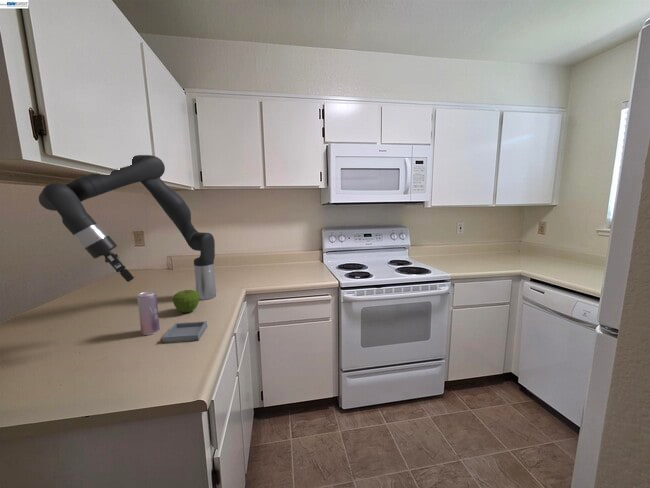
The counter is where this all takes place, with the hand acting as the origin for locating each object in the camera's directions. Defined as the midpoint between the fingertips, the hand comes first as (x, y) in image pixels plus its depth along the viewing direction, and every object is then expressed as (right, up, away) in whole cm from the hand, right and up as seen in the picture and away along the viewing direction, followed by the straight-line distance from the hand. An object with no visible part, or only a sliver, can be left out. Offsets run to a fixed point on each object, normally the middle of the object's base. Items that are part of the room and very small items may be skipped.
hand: (130, 279), depth 98 cm
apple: (+7, -18, +27) cm, 33 cm away
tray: (+17, -21, +5) cm, 28 cm away
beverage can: (+3, -21, +7) cm, 22 cm away
